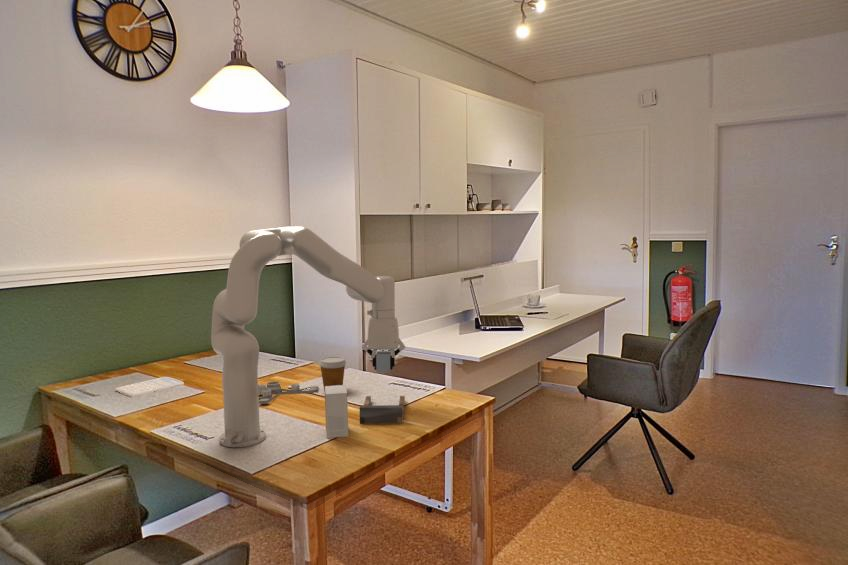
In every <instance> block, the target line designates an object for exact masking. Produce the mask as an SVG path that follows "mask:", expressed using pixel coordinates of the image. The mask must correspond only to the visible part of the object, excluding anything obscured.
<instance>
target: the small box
mask: <svg viewBox="0 0 848 565" xmlns="http://www.w3.org/2000/svg"><path fill="white" fill-rule="evenodd" d="M348 403H349V402H348V390H347V386H346V384H343V385H336V386H325V392H324V404H325V405H324V413H325V414H324V415H325V431H326V432H325V433H326V438H327V439H329V438H330V439H331V438H343V437H349V411H348V410H349V409H348V408H349V407H348Z"/></svg>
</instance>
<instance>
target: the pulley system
mask: <svg viewBox="0 0 848 565" xmlns="http://www.w3.org/2000/svg"><path fill="white" fill-rule="evenodd" d="M280 384H281V381H270V382H267V383H266V384H258V395H262V396H261V397H259V405H267V404H269V403H270V402H272V401H273V400H275V399H276V398H277V397H279V396H281V395H292V394H293V395H295V394H315V393H314V392H317V391H319V385H311V386H309V387H304V388H300V384H299V383H293V384H290V389H287V388H283V387H282V386H281V385H280ZM307 388H310V389H307ZM304 389H307V390H304ZM302 390H304V391H302ZM317 393H318V392H317ZM273 394H274V396H273Z"/></svg>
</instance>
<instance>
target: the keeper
mask: <svg viewBox="0 0 848 565" xmlns="http://www.w3.org/2000/svg"><path fill="white" fill-rule="evenodd" d="M390 357H391V352H390V350H377V351H376V373H390V372H391V371H392V370H391V369H390Z"/></svg>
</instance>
